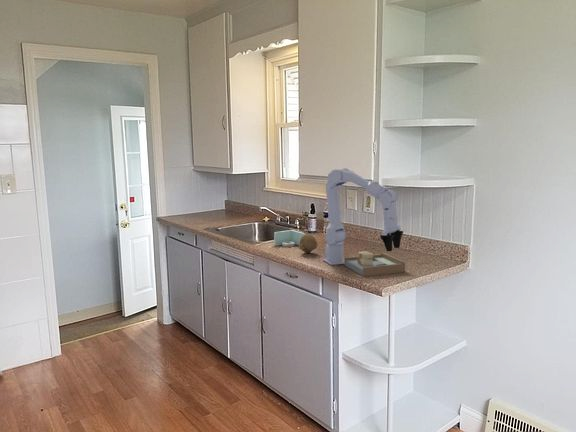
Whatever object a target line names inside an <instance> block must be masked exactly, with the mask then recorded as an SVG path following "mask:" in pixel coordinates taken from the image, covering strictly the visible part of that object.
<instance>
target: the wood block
mask: <svg viewBox="0 0 576 432" xmlns="http://www.w3.org/2000/svg"><path fill="white" fill-rule="evenodd" d="M373 255H374V253H372V252H370V251H369V250H367V251H358V252H357V256H358V257H357V263H358V264H360V265H362V266H366V265H373Z"/></svg>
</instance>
